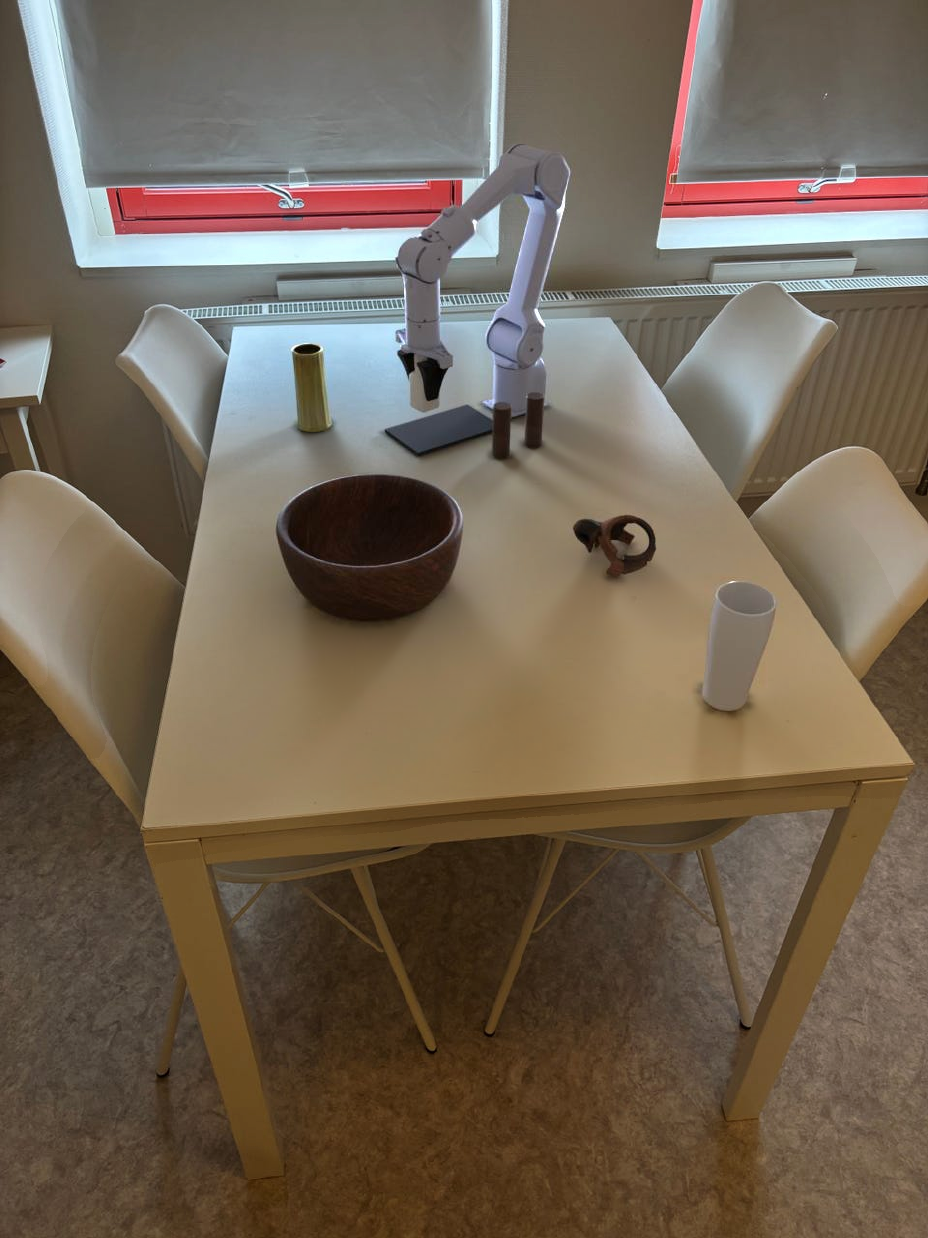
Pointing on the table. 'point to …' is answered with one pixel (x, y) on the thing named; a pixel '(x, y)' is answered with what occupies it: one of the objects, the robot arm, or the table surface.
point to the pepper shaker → (420, 389)
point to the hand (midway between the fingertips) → (424, 394)
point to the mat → (441, 430)
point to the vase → (310, 388)
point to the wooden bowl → (370, 544)
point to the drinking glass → (736, 642)
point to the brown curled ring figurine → (614, 530)
